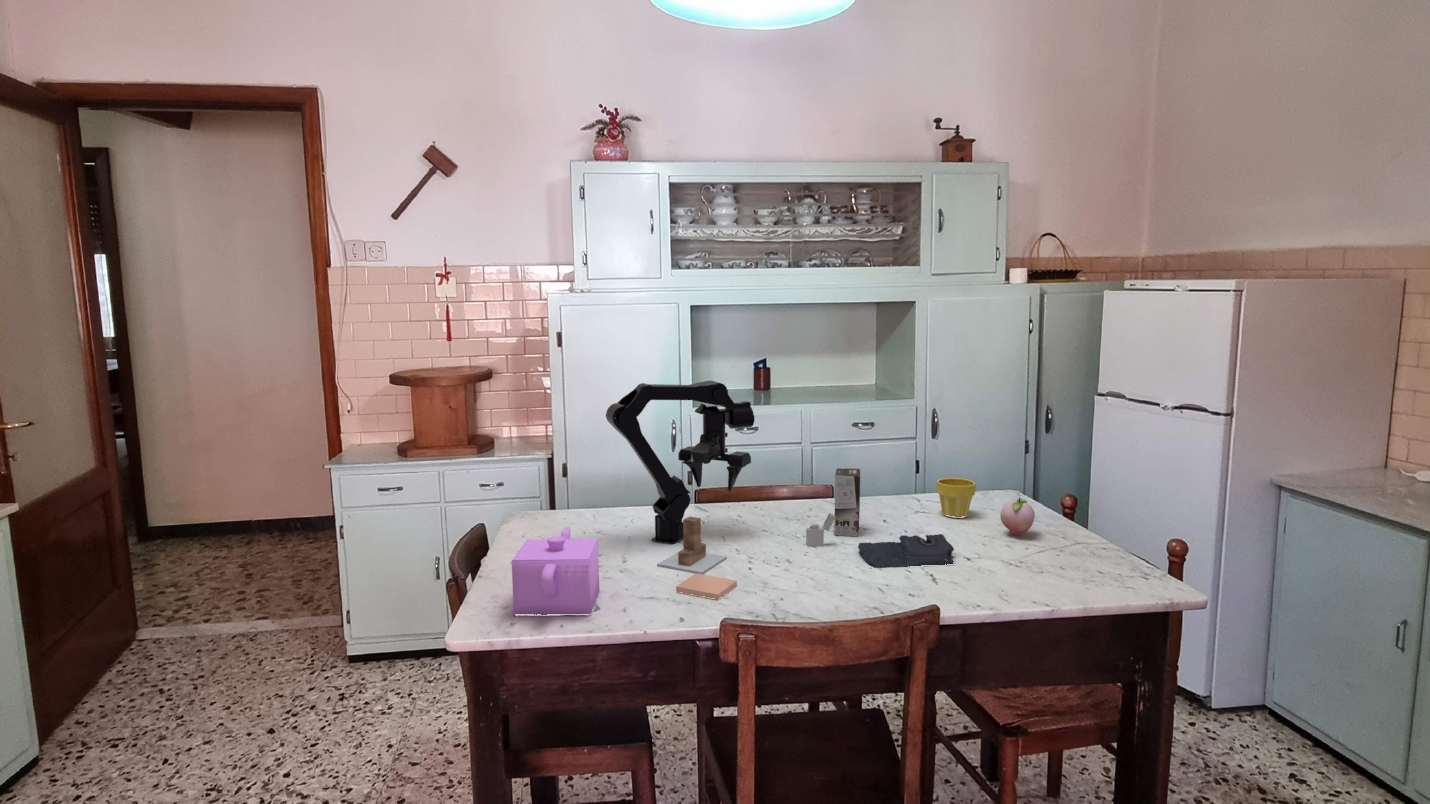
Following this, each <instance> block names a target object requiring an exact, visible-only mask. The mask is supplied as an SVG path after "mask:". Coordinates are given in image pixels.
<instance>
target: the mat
mask: <svg viewBox="0 0 1430 804" xmlns="http://www.w3.org/2000/svg"><path fill="white" fill-rule="evenodd" d="M678 552H679V551H678ZM678 552H675V553H674V554H672V555H670V556H669V557H667V558H665V559H663V560H661V561H660V562H657V563H656V567H659V568H660V567H661V568H666V569H671V568H672V570H677V571H681V570H683V571H682V572H688V573H692V572H693V573H692V574H696V573H698V574H704V575H705V573H707V572H708V571H710V570H711V569H713V568H714V567H716V566H718V565H719V564H721V563H722V562H724V561H725V560H727V559H728V556H726V555H719V554H714V553H709V552H706V556H705V557H704V558H702V559H700V560H699V561H697V562H696V563H694V564H693V565H691V566H685V565H679V564H678Z"/></svg>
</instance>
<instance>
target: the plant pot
mask: <svg viewBox="0 0 1430 804" xmlns="http://www.w3.org/2000/svg"><path fill="white" fill-rule="evenodd" d="M936 493H937V494H938V496H939V501H940V507H941V512H942V515H943V514H945V515H949V516H955V517H962V516H966V515H967V516H968V514H969V510H970V507H971V503H972V499H973V496H975V494H976V481H975V482H974V481H973V480H971V479H967V478H959V477H958V478H957V477H945V478H939V479H937V481H936Z"/></svg>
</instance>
